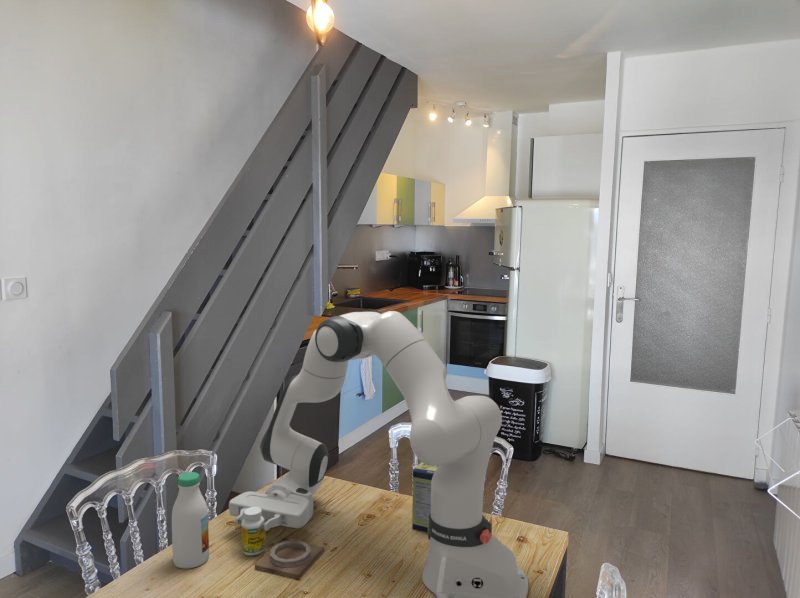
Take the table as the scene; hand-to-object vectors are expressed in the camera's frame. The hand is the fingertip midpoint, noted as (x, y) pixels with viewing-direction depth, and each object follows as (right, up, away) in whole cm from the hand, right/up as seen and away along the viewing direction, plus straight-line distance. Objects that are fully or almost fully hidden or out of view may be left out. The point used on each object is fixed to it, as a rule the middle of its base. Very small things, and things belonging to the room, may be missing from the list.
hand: (250, 524), depth 131 cm
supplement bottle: (0, -7, +2) cm, 7 cm away
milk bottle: (-13, -7, -2) cm, 15 cm away
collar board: (+10, -7, -2) cm, 12 cm away
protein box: (+45, -6, +17) cm, 49 cm away
